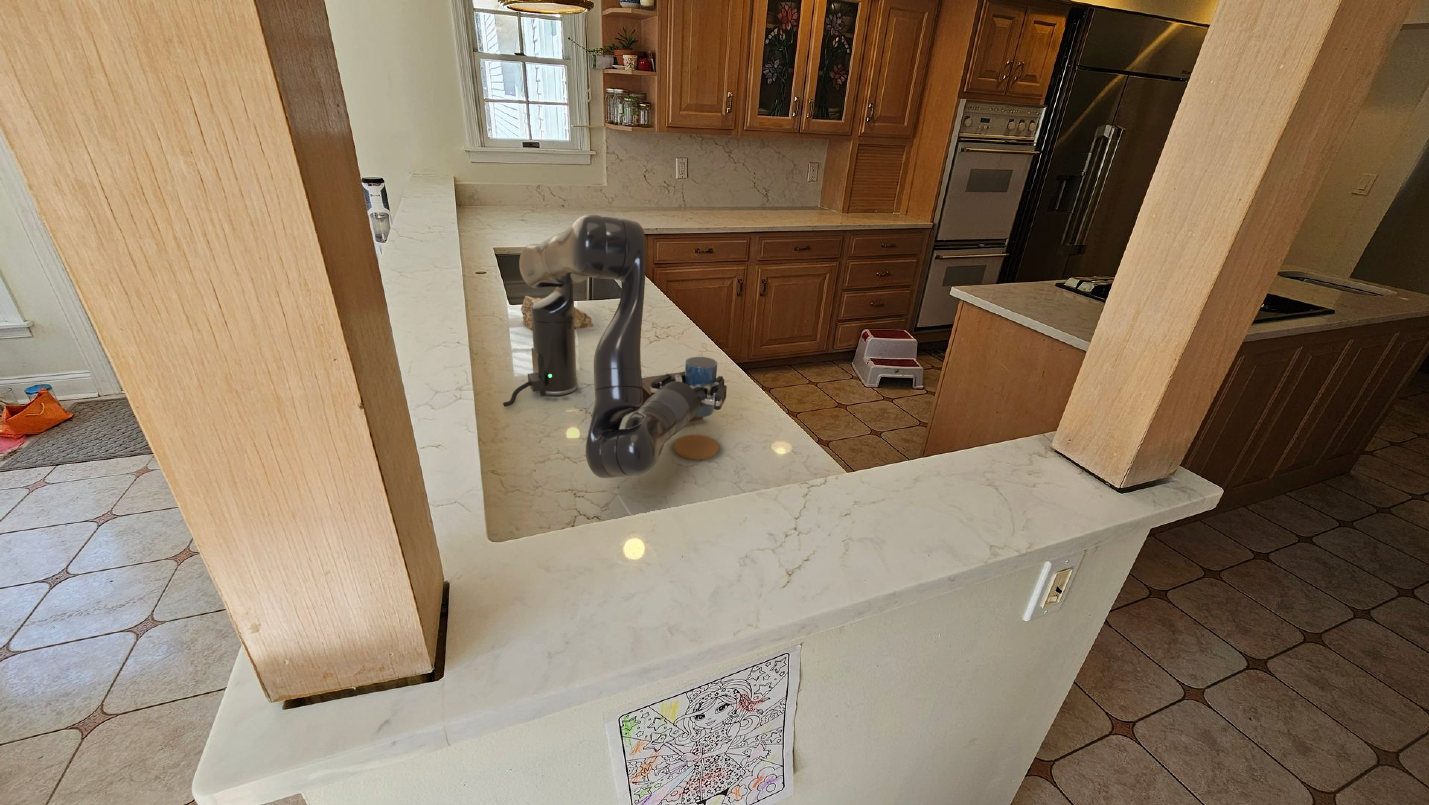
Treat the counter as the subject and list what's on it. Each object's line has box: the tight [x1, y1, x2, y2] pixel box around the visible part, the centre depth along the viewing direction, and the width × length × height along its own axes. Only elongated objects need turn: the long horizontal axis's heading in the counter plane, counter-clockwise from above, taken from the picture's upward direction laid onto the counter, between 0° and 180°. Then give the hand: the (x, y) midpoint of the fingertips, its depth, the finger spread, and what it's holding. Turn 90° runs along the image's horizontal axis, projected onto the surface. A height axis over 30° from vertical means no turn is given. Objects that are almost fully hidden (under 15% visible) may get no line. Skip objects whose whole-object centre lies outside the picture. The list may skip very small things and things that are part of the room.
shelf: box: [642, 371, 704, 423], centre depth 132 cm, size 11×10×8 cm
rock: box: [520, 295, 593, 331], centre depth 180 cm, size 28×22×16 cm
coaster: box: [673, 434, 720, 461], centre depth 122 cm, size 9×9×1 cm
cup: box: [684, 356, 718, 418], centre depth 116 cm, size 6×6×10 cm
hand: (704, 377), depth 118 cm, fingers closed on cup, 6 cm apart
